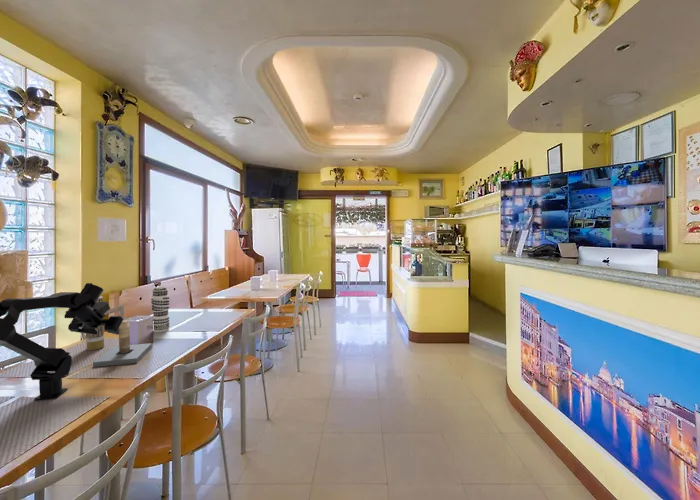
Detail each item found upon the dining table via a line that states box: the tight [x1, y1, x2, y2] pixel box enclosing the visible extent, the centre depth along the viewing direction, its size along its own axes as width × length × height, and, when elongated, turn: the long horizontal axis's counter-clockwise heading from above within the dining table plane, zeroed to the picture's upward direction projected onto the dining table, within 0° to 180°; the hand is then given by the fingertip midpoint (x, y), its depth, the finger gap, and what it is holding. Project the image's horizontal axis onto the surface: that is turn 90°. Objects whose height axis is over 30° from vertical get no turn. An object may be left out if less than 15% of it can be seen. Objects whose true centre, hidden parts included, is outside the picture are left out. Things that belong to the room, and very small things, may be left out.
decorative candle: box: [150, 286, 171, 333], centre depth 185 cm, size 9×9×25 cm
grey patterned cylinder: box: [85, 295, 105, 351], centre depth 155 cm, size 7×7×25 cm
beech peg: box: [118, 319, 131, 354], centre depth 145 cm, size 4×4×16 cm
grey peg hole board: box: [92, 342, 153, 368], centre depth 146 cm, size 20×16×2 cm
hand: (107, 333), depth 135 cm, fingers open, 9 cm apart
